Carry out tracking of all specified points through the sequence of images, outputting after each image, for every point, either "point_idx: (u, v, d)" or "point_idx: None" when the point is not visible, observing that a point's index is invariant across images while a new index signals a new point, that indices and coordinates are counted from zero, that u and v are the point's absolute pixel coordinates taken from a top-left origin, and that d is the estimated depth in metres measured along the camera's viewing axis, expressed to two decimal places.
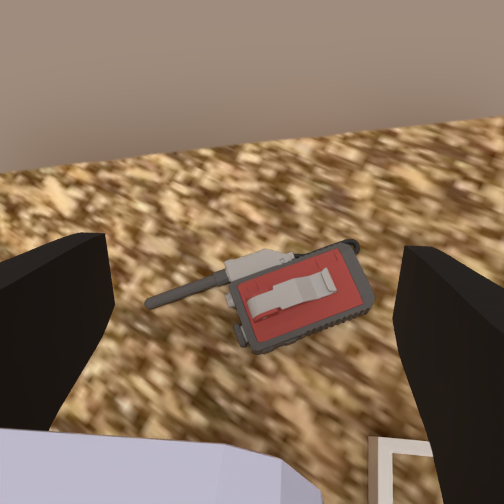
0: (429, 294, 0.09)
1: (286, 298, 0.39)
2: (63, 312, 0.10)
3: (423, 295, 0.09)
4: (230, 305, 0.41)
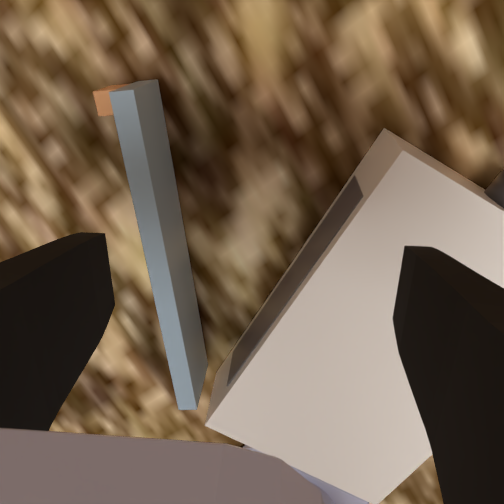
0: (429, 294, 0.09)
1: None
2: (63, 312, 0.10)
3: (423, 295, 0.09)
4: None
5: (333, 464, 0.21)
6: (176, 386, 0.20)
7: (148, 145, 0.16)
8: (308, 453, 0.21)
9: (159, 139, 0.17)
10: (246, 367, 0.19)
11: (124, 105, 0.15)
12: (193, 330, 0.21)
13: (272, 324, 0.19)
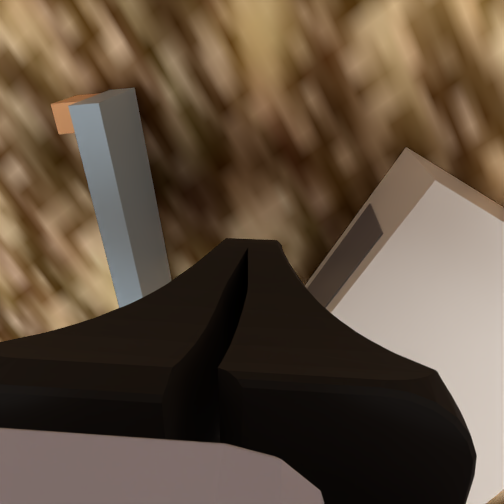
0: None
1: None
2: (236, 321, 0.09)
3: None
4: None
5: None
6: None
7: (119, 170, 0.13)
8: None
9: (135, 160, 0.14)
10: None
11: (88, 122, 0.12)
12: None
13: None
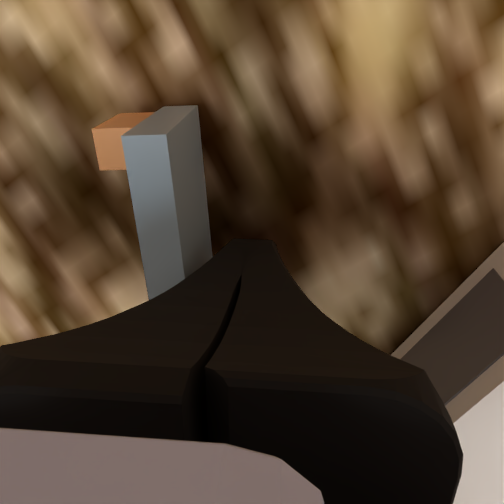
0: None
1: None
2: None
3: None
4: None
5: None
6: None
7: (183, 224, 0.09)
8: None
9: (196, 204, 0.11)
10: None
11: (148, 160, 0.08)
12: None
13: None
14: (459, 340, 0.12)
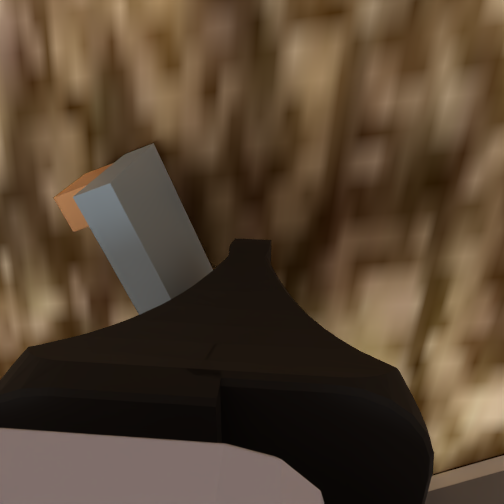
0: None
1: None
2: None
3: None
4: None
5: None
6: None
7: (159, 258, 0.10)
8: None
9: (177, 234, 0.11)
10: None
11: (103, 211, 0.09)
12: None
13: None
14: None
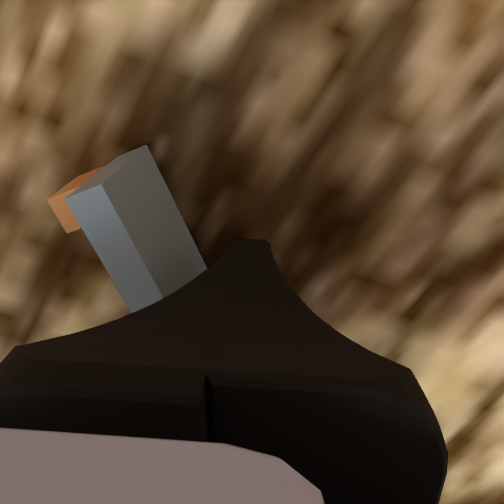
0: None
1: None
2: None
3: None
4: None
5: None
6: None
7: (152, 258, 0.10)
8: None
9: (170, 235, 0.11)
10: None
11: (95, 212, 0.09)
12: None
13: None
14: None
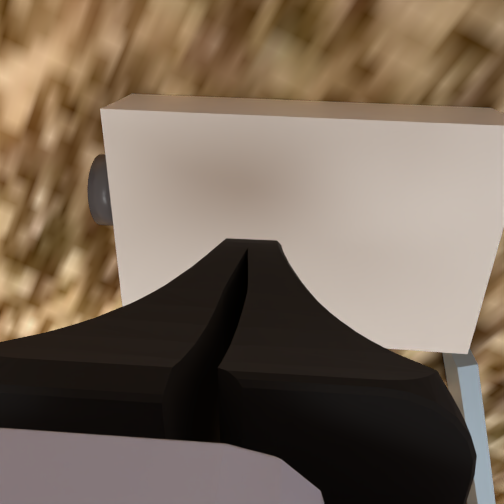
0: None
1: None
2: (235, 321, 0.09)
3: None
4: None
5: (472, 216, 0.17)
6: (477, 388, 0.20)
7: None
8: (465, 249, 0.17)
9: None
10: None
11: None
12: (453, 393, 0.22)
13: None
14: None
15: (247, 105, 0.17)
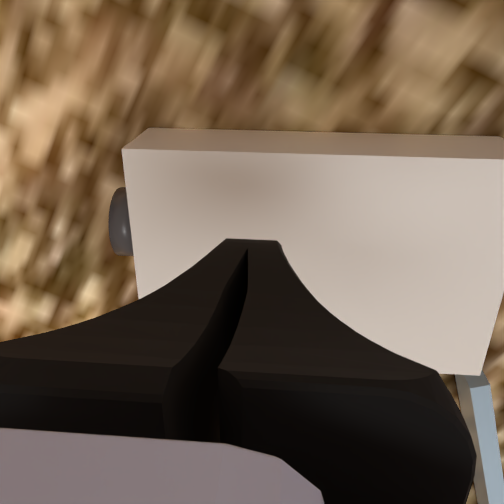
0: None
1: None
2: (236, 321, 0.09)
3: None
4: None
5: (483, 245, 0.17)
6: (490, 408, 0.20)
7: None
8: (476, 276, 0.18)
9: None
10: None
11: None
12: (466, 410, 0.23)
13: None
14: None
15: (262, 140, 0.18)
